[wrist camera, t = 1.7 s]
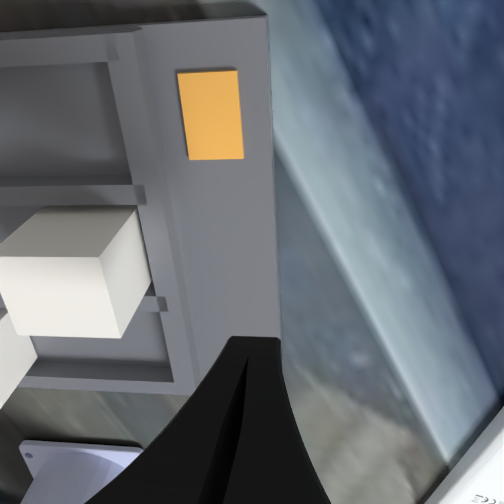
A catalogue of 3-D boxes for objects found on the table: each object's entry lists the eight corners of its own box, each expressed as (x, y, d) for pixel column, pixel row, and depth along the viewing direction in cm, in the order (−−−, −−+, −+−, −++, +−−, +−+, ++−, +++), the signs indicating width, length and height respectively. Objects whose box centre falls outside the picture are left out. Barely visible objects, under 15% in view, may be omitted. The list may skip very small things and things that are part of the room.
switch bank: (283, 370, 24) (280, 401, 22) (-89, 355, 27) (-117, 381, 25) (268, 14, 16) (261, 20, 14) (-266, 49, 18) (-325, 57, 17)
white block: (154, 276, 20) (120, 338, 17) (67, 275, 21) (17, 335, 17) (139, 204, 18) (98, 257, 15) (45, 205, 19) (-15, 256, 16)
